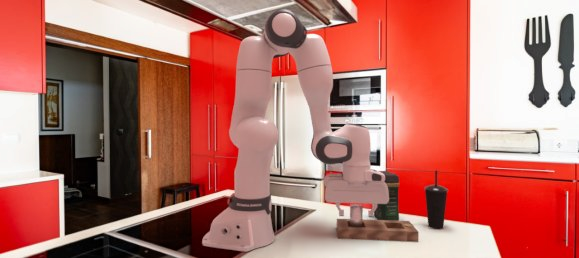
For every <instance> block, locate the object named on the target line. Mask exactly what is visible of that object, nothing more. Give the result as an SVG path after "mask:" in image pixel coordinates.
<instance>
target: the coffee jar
mask: <svg viewBox="0 0 579 258" xmlns="http://www.w3.org/2000/svg"><path fill="white" fill-rule="evenodd" d="M378 171H379V172H381V173H383V174H384V175H385V181H384V182H385V183H386V184H387V186H388V192H389V202H388V203H387V204H377V208H376V210H375V211H374V217H373V218H375V220H394V221H400V213H399V212H400V209H399V203H400V202H399V198H400V197H399V189H400V188H399V187H400V176H399V175H397V174H396V173H393V172H390V171H388V170H378Z"/></svg>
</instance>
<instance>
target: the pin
mask: <svg viewBox="0 0 579 258" xmlns="http://www.w3.org/2000/svg"><path fill="white" fill-rule="evenodd" d="M363 210H364V209H363V205H362V204H360V203H351V204H350V205H349V219H350V227H362V219H363Z"/></svg>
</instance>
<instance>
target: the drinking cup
mask: <svg viewBox="0 0 579 258" xmlns="http://www.w3.org/2000/svg"><path fill="white" fill-rule="evenodd" d="M423 189H424V192H425V193H424V194H425V202H426V203H425V205H426V215H427V216H426V217H427V224H428V227H429V228H431V229H434V230H443V229H444V226H445V216H446V206H447V196H448V192H449V189H448V188H446V187H444V185H443V186H442V185H439V184H438V170H434V184H430V185H427V186H424V188H423Z"/></svg>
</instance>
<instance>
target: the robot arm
mask: <svg viewBox="0 0 579 258" xmlns="http://www.w3.org/2000/svg"><path fill="white" fill-rule="evenodd" d="M238 48H239V50H238V53H237V58H236V59H237V60H236V69H235V71H236V73H235V74H236V75H235V93H234V94H235V95H234V103H233V104H234V105H233V109H232V114H231V120H230V127H229V130H228V134H229V135H228V136H229V139H230V141H231V142H232V144H233V145H234V146H236V148H237V149H238V155H237V161H236V165H235V168H234V177H233V178H234V179H233V180H234V192H233V193H232V194H230V197H228V199H227V202H226V203H227V205H228V207H227V208H226V209H224V210H223V211H222V212H220V213H219V214H218V215H217V216H216V217H215V218H214V219H213V220H212V222H211V223H210V230H209V231H208V232H207V233H206V234H205V235H204V236H203V238H202V241H201V244H202V246H204V247H209V248H215V249H223V250H230V251H231V250H232V251H238V252H246V253H247V252H250V251H252V250H254V249H258V248H263V247H265V246H268V245H270V244H272V243H273V242H275V240H276V235H275V233H274V230H273V224H272V218H271V216H272V215H271V213H272V194H271V193H270V191H271V189H270V188H271V185H270V184H271V181H270V179H271V178H270V173H271V164H272V159H273V155H274V150H275V147H276V146H277V144H278V141H279V133H280V132H279V129H278V127H277V126H276V124H275V122H273V121H271V119H268V118H267V117H266V113H267V109H268V105H269V103H270V101H271V97H272V73H273V71H272V70H273V65H272V64H273V59H277V58H281V57H285V56H288V55H290V56H291V57H292V58H293V60H294V62H295V65H296V66H295V67H296V73H297V77H298V80H299V81H298V82H299V84H300V87H301V91H302V93H303V95H304V98H305V100H306V103H307V105H308V108H309V113H310V120H311V126H312V131H313V132H312V133H313V134H312V139H311V144H310V150H311V153H312V155H313V157H314V158H316V159H317V160H318V161H320V163H323V164H324V165H325V164H326V165H336V164H342V173H331V172H330V173H328V174H326V175H325V176H324V178H323V185H324V186H325V192H324V200H325V201H326V202H327V203H333V204H334V203H335V207H336V208H337V210H338V215H339V217H345V211H344V210H345V209H341V204H371V205H372V207H371V209H370V210H369V209H368V212H367V213H368V216H367V217H368V218H375V217H374V211H375V210H376V208H377V204H387V203H388V202H389V192H388V186H387V184H386V183H385V182H384V181H385V175H384V174H383V173H381V172H379V171H380V170H376V169H373V168H371V161H370V156H371V155H370V154H371V149H372V148H371V135H370V131H369V129H368V128H367V127H366V126H365V125H362V124H357V123H346V124H344V126H342V127H339V129H336V130H335V131H333V130H332V125H331V121H330V120H331V119H330V113H329V106H328V105H329V100H330V99H329V98H330V96H331V93H332V91H333V87H334V77H333V76H334V74H333V68H332V63H331V58H330V54H329V52H328V48H327V45H326V42H325V41H324V39H323V37H322V36H321V35H319V34H316V33H308V29H307V28H306V27H305V25H304V24H303V23H302V22H301V20H300V18H299V17H298V15H296V14H295V13H294V12H293V11H292V10H290V9H286V8H285V9H284V8H282V9H278V10H275V11H273V12H272V13H271V14H270V15H269V17H267V20H266V23H265V25H264V31H263V33H262V34H261V35H251V36H248V37H245V38H244V39H242V41H241V42H240V44H239V47H238Z"/></svg>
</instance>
